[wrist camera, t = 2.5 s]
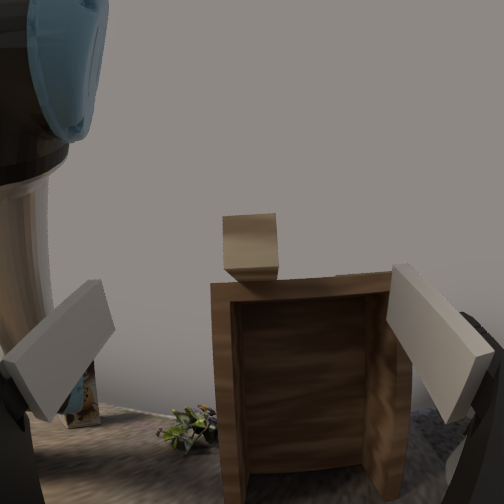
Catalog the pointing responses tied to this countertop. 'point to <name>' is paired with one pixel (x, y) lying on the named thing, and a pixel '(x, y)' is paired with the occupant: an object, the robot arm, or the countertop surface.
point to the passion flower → (197, 422)
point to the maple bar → (250, 247)
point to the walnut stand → (309, 379)
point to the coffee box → (85, 404)
